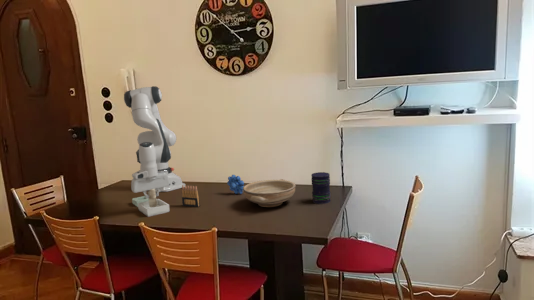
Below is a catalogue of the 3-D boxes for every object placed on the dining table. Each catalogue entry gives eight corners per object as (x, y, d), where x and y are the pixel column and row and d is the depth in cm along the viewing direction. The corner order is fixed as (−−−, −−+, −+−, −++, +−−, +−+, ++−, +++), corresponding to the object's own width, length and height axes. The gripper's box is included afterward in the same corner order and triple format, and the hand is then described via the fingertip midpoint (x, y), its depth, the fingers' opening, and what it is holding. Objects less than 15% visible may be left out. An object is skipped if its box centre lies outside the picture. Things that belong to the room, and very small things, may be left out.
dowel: (155, 204, 232) (153, 187, 230) (158, 206, 228) (156, 188, 227) (148, 206, 229) (146, 188, 228) (150, 207, 226) (148, 189, 224)
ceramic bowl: (261, 193, 251) (260, 176, 249) (306, 195, 239) (305, 178, 238) (231, 212, 218) (229, 193, 216) (281, 216, 206) (280, 196, 204)
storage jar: (333, 199, 229) (332, 172, 226) (327, 204, 220) (326, 176, 218) (315, 198, 233) (314, 171, 231) (310, 203, 224) (308, 176, 222)
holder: (147, 200, 252) (147, 195, 251) (152, 203, 245) (151, 198, 244) (132, 203, 247) (132, 198, 247) (137, 206, 240) (136, 201, 239)
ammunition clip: (200, 206, 232) (198, 185, 230) (198, 207, 231) (196, 186, 229) (184, 204, 237) (182, 184, 235) (182, 205, 235) (180, 185, 233)
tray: (159, 205, 239) (158, 198, 238) (169, 211, 226) (169, 204, 225) (138, 210, 233) (137, 203, 232) (148, 216, 219) (147, 209, 219)
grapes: (224, 195, 251) (223, 175, 249) (230, 192, 257) (228, 173, 255) (241, 196, 246) (240, 176, 244) (247, 193, 252) (245, 174, 250)
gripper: (165, 168, 234) (168, 192, 236) (128, 174, 223) (132, 199, 225) (169, 170, 229) (172, 194, 231) (132, 176, 218) (135, 202, 220)
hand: (152, 197), depth 228 cm, fingers closed on dowel, 4 cm apart
